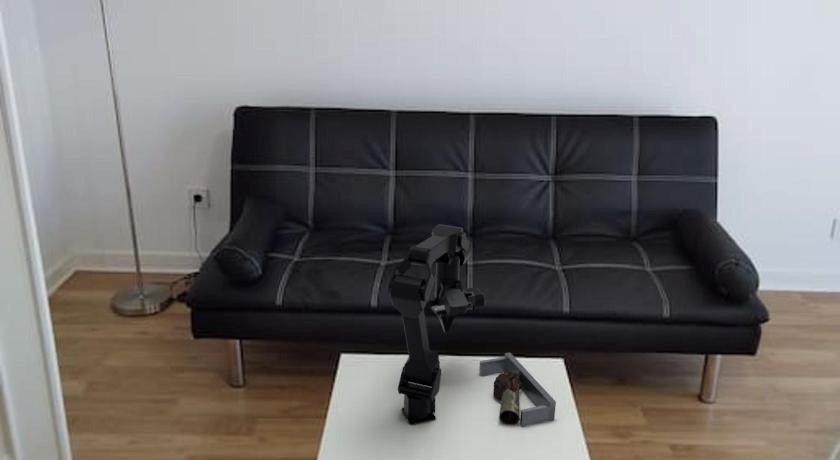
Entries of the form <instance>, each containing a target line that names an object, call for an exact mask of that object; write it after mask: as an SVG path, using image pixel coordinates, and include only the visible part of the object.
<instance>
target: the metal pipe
mask: <svg viewBox="0 0 840 460" xmlns="http://www.w3.org/2000/svg"><path fill="white" fill-rule="evenodd" d="M519 379H520V378H519V375H518V373H512V371H505V372H503V373H498V375H497V376H496V377H495V379H494V381H493V393H492V394H493V397H494V398H495V399H496V400H498V401H499V402H500V409H499V416H498V417H499V418H498V419H499V421H500V423H502V424H503V425H505V426H517V425H518V424H520V415H521V409H520V391H522V390H521V388H522V386H521V383H520V382H521V381H520V380H519Z"/></svg>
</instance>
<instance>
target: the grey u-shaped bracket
mask: <svg viewBox="0 0 840 460" xmlns="http://www.w3.org/2000/svg"><path fill="white" fill-rule="evenodd" d="M505 371H512V373H518V375H519V378H520V379H519V380H520V381H521V382H520V383H521V386H522V388H521V390H520V391H522V393H523V394H524V395H525V396H526V397H527V399H528V400H529V401H530V402H531V403H532V404H533V405H534V407H532V406H531V407H529V408H524V409H520V421H519V425H520V426H521V428H523V427H527V426H533V425H537V424H542V423H543V424H544V423H547V422H552V421H555V416H556V406H557V402H556V400H555V399H554V398H553V397H552V396H551V395H550V393H548V391H546V389H545V388H544V387H543V386H542V385H541V383H539V382H538V381H537V379H535V378H534V377H533V375H532V374H530V372H529V370H527V369H526V368H525V367H524V366H523V365H522V364H521V362H519V360H518V359H517V358H516V357H515V356H514V355H513V353H511V352H505V353H504V356H502V357H497V358H496V357H495V358H490V359H485V360H480V361H479V373H478V375H479V376H480V377H481V378H482V377H486V376H492V375H497V374H498V375H499V374H501V373H504V372H505Z"/></svg>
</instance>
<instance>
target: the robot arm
mask: <svg viewBox="0 0 840 460" xmlns="http://www.w3.org/2000/svg"><path fill="white" fill-rule="evenodd" d="M431 231H432V232H431V233H430V237H428V238H427V239H425V240H423V241H422V242H420V243H419V244H417V245H414V246H410V248H409V250H408V252H407V255H406V257H405V258H403V260H402V261H401V262H399V263H398V264H397V265H395V267H394V270H393V272H392V274H391V275H392V276H391V278H390V280H389V284H388V288H387V289H388V290H387V291H388V295H389V296H390V297H389V298H390V301H391V304H392V306H393V307H394V308H395V310H397V312H399V313H400V314H401V317H402V323H403V329H404V335H405V336H404V337H405V341H406V347H407V353H408V358H407V359H406V361H405V363H404V365H403V367H402V369H401V375H400V376H399V377H400V378H399V382H398V386H397V393H398V394H399V395H403V407H402V408H401V412H402V414H403V415H404V418H405V419H406V420H407V422H408V424H409V425H417V424H422V423H426V422H427V423H428V422H432V421H435V420H436V419H437V417H436V415H435V413H436V398H437V395H438V393H439V392H440V388H441V387H440V386H441V381H442V380H441V379H442V368H441V365H440V364H441V362H440V355H439V352H438V351H436V350H432V349H431V350H430V343H429V337H428V330H427V329H428V328H427V324H426V316H425V315H428V314H429V313H430V312H431V310H432V311H433V313H434V314H435V315H436V316H437V317H438V319H439V323H440V325H441V327H442V331H443V332H444V333H445V334H447V333H449V331H450V329H451V326H452V325H453V323H454V322H453V321H454V319H455V318H456V317H457V316H458V315H465V314H466V313H467V311H468V309H472V308H473V307H474V308H479V307H484V306H486V301H487V300H486V295H485V294H484V293H483V292H482V291H481V290H480V288H478V287H476V286H475V287H474V286H473V287H468V288H462V281H461V280H460V267H462V266H463V265H464V264H465V263H466V261H468V259H469V258H470V257H471V255H472V252H473V249H472V247H471V246H472V245H470V243H469V241H468V238H467V237H468V236H467V234H466V232H464V227H460V226H453V225H446V224H436V226H435V227H434V228H433V229H432V230H431ZM434 263H435V274H434V275H433V271H432V267H433V264H434ZM414 265H418V266H421V267H423V266H424V267H426V268H427V272H428V276H427V278H419V277H414V276H409V275H404V274H405V273H406V272H408V271H409V270H410V269H412V266H414ZM434 284H435V287H434ZM433 287H434V288H435V289H433ZM432 291H433V295H434V297H435V298H430V296H431V293H432Z"/></svg>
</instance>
